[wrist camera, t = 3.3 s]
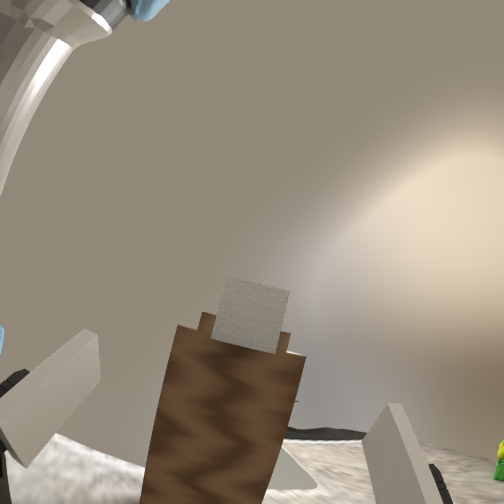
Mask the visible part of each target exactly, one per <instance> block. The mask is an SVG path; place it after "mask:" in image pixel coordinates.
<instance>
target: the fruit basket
mask: <svg viewBox="0 0 504 504" xmlns="http://www.w3.org/2000/svg"><path fill="white" fill-rule="evenodd" d="M494 480H504V439H503V442H502V443H501V444H500V446H499V451H498V461H497V465H496V472H495V476H494Z"/></svg>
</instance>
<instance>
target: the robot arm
mask: <svg viewBox="0 0 504 504" xmlns="http://www.w3.org/2000/svg"><path fill="white" fill-rule="evenodd" d="M168 1H169V0H0V196H1V193H2V190H3V187H4V183H5V180H6V177H7V175H8V172H9V169H10V166H11V164H12V161H13V159H14V156H15V154H16V151H17V149H18V146H19V144H20V142H21V140H22V137H23V135H24V133H25V131H26V129H27V126H28V124H29V122H30V120H31V118H32V116H33V114H34V112H35V110H36V108H37V107H38V105H39V103H40V101H41V99H42V98H43V96H44V94H45V92H46V91H47V89H48V87H49V86H50V84H51V82H52V81H53V79H54V77H55V76H56V74H57V73H58V71H59V70H60V68H61V67H62V65H63V63H64V62H65V61H66V59H67V58H68V56H69V55H70V53H71V52H72V51H73V49H74V48H76V47H78V46H79V45H81V44H84V43H87V42H90V41H93V40H97V39H100V38H104V37H108V35H110V34H111V33H112V32H113V30H114V29H115V28H116V27H117V26H118V25H119V23H121V21H122V20H123V19H124V18H125V17H126V16H128V15H131V18H132V19H134V20H142V21H148V20H150V19H152V18H153V17H154V16H155V15H156V14H157V13H158V12H159V11H160V9H161V8H162V7H163V6H165V5H166V4H167V3H168ZM3 339H4V330H3V327H2V326H1V325H0V354H1V349H2V344H3ZM100 380H101V375H100V363H99V350H98V334H96V333H93V332H91V331H89V330H87V329H83V330H82V331H81V332H80V333H78V334H77V335H76V336H74V337H73V338H72V339H71V340H69V341H68V342H67V343H66V344H64V345H63V346H62V347H61V348H60V349H58V350H57V351H56V352H54V353H53V354H52V355H51V356H50V357H48V358H47V359H46V360H45V361H43V363H41V364H40V365H39V366H37V367H36V368H35V369H34V370H33V371H31V372H29V371H27V370H26V369H23V370H20V371H17V372H14V373H13V374H12V375H11V376H9V377H8V378H7V379H6V381H3V382H2V383H1V384H0V504H12V502H11V497H10V491H9V484H8V477H7V468H6V458H5V454H4V452H5V451H6V450H8V452H9V453H10V455H11V456H12V458H14V459H15V460H16V461H17V462H18V463H20V464H21V465H22V466H23V467H25V468H26V469H27V467H28V466H29V465H30V464H31V462H32V461H33V460H34V459H35V457H36V456H37V455H38V454H39V452H40V451H41V450H42V449H43V448H44V446H45V445H46V444H47V443H48V441H49V440H50V439H51V438H52V437H53V435H54V434H55V433H56V432H57V431H58V429H59V428H60V427H61V426H62V425H63V423H64V422H65V421H66V420H67V419H68V417H69V416H70V415H71V414H72V413H73V412H74V410H75V409H76V408H77V407H78V406H79V404H80V403H81V402H82V401H83V400H84V398H85V397H86V396H87V395H88V394H89V393H90V392H91V390H92V389H93V388H94V387H95V386H96V385H97V384H98V382H99V381H100ZM361 442H362V445H363V449H364V453H365V457H366V461H367V465H368V469H369V474H370V478H371V482H372V486H373V491H374V495H375V500H376V504H453V502H452V499H451V497H450V494H449V492H448V489H446V488H447V487H446V484H445V482H443V481H444V480H443V477H442V475H441V473H440V471H439V470H438V469H437V468H436V467H435V465H434V464H429V465H428V463H427V461H426V459H425V456H424V454H423V452H422V449H421V447H420V445H419V442H418V440H417V438H416V436H415V433H414V431H413V429H412V427H411V425H410V423H409V421H408V418H407V416H406V414H405V412H404V410H403V408H402V406H401V404H390V403H387V405H386V407H385V408H384V409H383V411H382V413H381V414H380V416H379V417H378V419H377V420H376V422H375V423H374V425H373V426H372V427H371V429H370V430H369V432H368V433H367V434H366V436H365V437H364V439H363V440H362V441H361Z"/></svg>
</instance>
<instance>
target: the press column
mask: <svg viewBox="0 0 504 504" xmlns="http://www.w3.org/2000/svg"><path fill="white" fill-rule="evenodd" d="M216 316H217V315H213V314H209V313H205V312H202V315H201V319H200V322H199V326H198V329H197V328H191V327H187V326H182V325H178V326H177V329H176V333H175V337H174V341H173V345H172V349H171V353H170V357H169V361H168V365H167V369H166V373H165V377H164V381H163V386H162V390H161V395H160V399H159V403H158V408H157V412H156V417H155V421H154V426H153V431H152V436H151V441H150V446H149V451H148V457H147V462H146V468H145V473H144V479H143V485H142V491H141V498H140V504H261V503H262V501H263V498H264V495H265V493H266V490H267V487H268V484H269V481H270V479H271V476H272V473H273V470H274V467H275V464H276V461H277V458H278V455H279V452H280V449H281V446H282V443H283V439H284V436H285V433H286V430H287V426H288V423H289V419H290V416H291V412H292V409H293V406H294V402H295V398H296V395H297V391H298V387H299V383H300V379H301V375H302V371H303V367H304V363H305V359H306V356H303V355H300V354H296V353H293V352H290V351H287V348H288V343H289V339H290V335H291V333H287V332H282V331H280V336H279V340H278V344H277V348H276V352H275V354H273V353H268V352H264V351H259V350H255V349H251V348H247V347H242V346H238V345H234V344H230V343H227V342H223V341H219V340H215V339H212V338H211V335H212V331H213V327H214V323H215V320H216Z"/></svg>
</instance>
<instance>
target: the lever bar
mask: <svg viewBox="0 0 504 504" xmlns="http://www.w3.org/2000/svg"><path fill="white" fill-rule="evenodd" d="M288 296H289V291H286V290H282V289H277V288H273V287H269V286H265V285H261V284H257V283H253V282H249V281H245V280H241V279H237V278H233V277H229V276H227V279H226V282H225V286H224V291H223V294H222V297H221V301H220V305H219V308H218V312H217V316H216V320H215V323H214V327H213V331H212V335H211V338H212V339H215V340H219V341H223V342H227V343H230V344H234V345H238V346H242V347H247V348H251V349H255V350H259V351H264V352H268V353H273V354H275V352H276V348H277V344H278V340H279V336H280V331H281V327H282V323H283V319H284V314H285V310H286V305H287V301H288Z"/></svg>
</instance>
